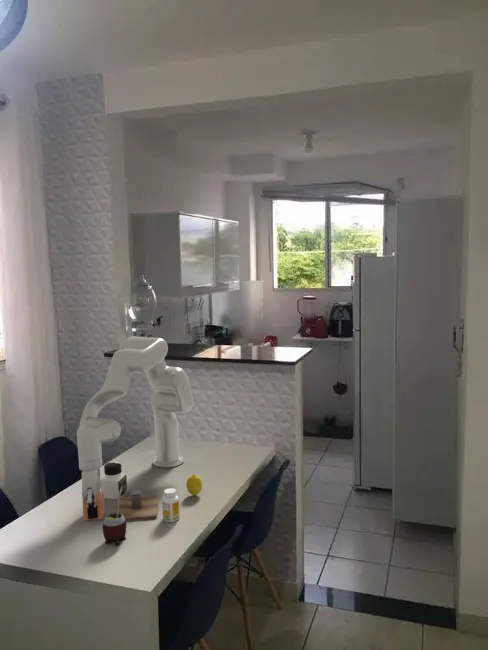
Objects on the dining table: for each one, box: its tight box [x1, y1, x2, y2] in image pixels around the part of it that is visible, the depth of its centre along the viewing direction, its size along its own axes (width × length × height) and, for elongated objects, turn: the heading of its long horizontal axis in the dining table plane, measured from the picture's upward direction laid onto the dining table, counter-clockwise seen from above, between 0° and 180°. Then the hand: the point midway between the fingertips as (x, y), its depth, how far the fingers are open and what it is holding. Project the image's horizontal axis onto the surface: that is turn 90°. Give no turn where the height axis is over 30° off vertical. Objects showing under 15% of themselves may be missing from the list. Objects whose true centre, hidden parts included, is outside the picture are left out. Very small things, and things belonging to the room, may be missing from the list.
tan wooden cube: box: [82, 490, 106, 521], centre depth 190 cm, size 6×6×7 cm
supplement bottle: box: [161, 487, 180, 523], centre depth 186 cm, size 5×5×10 cm
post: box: [130, 490, 142, 509], centre depth 193 cm, size 3×3×5 cm
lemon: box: [186, 474, 203, 497], centre depth 202 cm, size 6×6×8 cm
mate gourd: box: [102, 487, 127, 547], centre depth 172 cm, size 8×8×15 cm
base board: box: [114, 494, 159, 522], centre depth 194 cm, size 16×14×1 cm
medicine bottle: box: [100, 461, 128, 500], centre depth 205 cm, size 7×7×12 cm
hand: (94, 513), depth 190 cm, fingers closed on tan wooden cube, 5 cm apart
